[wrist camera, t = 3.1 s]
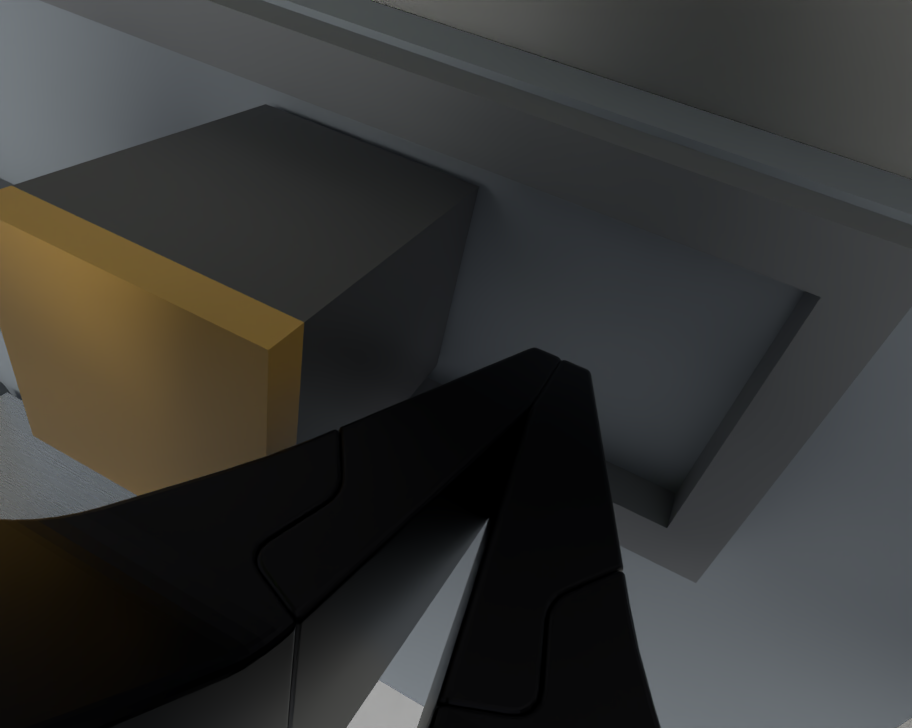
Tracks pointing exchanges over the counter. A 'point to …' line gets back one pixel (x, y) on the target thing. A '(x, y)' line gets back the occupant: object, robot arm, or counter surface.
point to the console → (596, 315)
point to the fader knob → (224, 293)
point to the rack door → (44, 473)
